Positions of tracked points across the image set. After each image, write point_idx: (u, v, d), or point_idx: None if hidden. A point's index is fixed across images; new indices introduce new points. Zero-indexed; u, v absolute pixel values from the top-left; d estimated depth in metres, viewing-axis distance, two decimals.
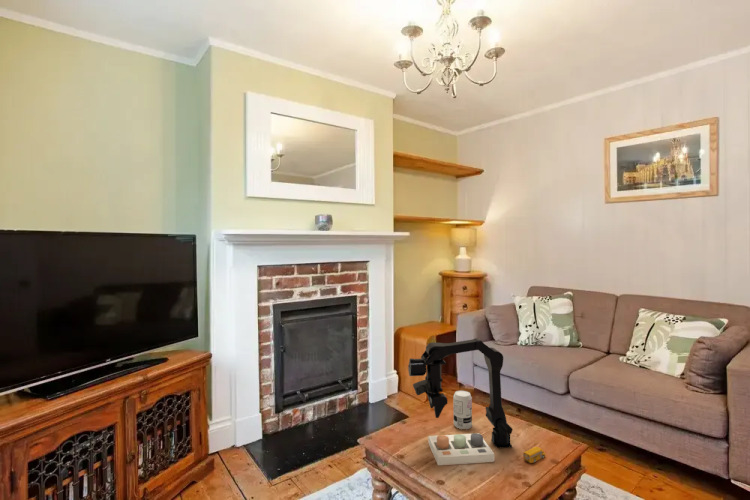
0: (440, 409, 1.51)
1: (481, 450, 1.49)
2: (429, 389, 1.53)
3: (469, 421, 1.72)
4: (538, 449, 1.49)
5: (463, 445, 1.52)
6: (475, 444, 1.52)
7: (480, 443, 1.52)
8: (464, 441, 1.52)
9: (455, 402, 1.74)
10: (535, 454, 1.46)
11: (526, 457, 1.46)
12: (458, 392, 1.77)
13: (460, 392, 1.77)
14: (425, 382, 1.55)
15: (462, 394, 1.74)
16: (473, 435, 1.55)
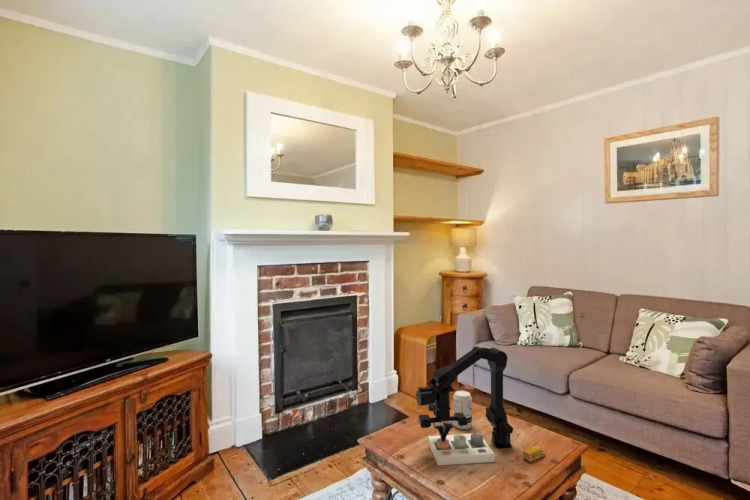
0: (439, 433, 1.52)
1: (481, 450, 1.49)
2: (433, 411, 1.55)
3: (469, 421, 1.72)
4: (538, 448, 1.50)
5: (463, 445, 1.52)
6: (475, 444, 1.52)
7: (480, 443, 1.52)
8: (464, 441, 1.52)
9: (455, 402, 1.74)
10: (534, 453, 1.47)
11: (525, 456, 1.47)
12: (458, 392, 1.77)
13: (460, 392, 1.77)
14: None
15: (462, 394, 1.74)
16: (473, 435, 1.55)
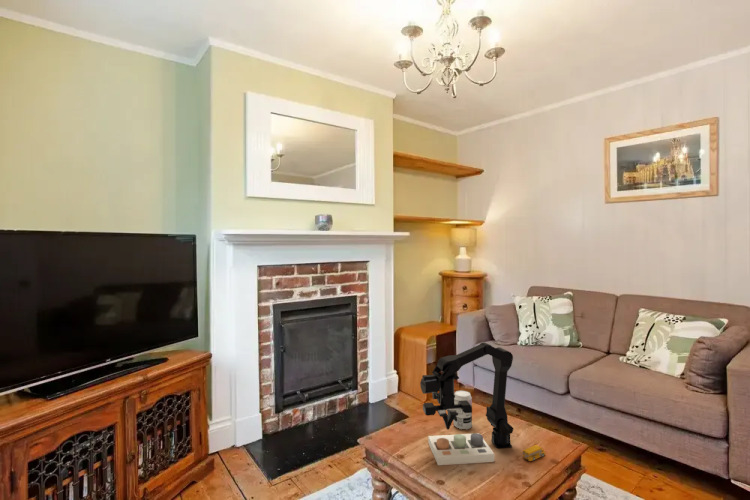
0: (444, 420, 1.52)
1: (481, 450, 1.49)
2: (438, 399, 1.55)
3: (469, 421, 1.72)
4: (538, 447, 1.50)
5: (463, 445, 1.52)
6: (475, 444, 1.52)
7: (480, 443, 1.52)
8: (464, 441, 1.52)
9: (455, 402, 1.74)
10: (534, 453, 1.48)
11: (525, 455, 1.47)
12: (458, 392, 1.77)
13: (460, 392, 1.77)
14: None
15: (462, 394, 1.74)
16: (473, 435, 1.55)
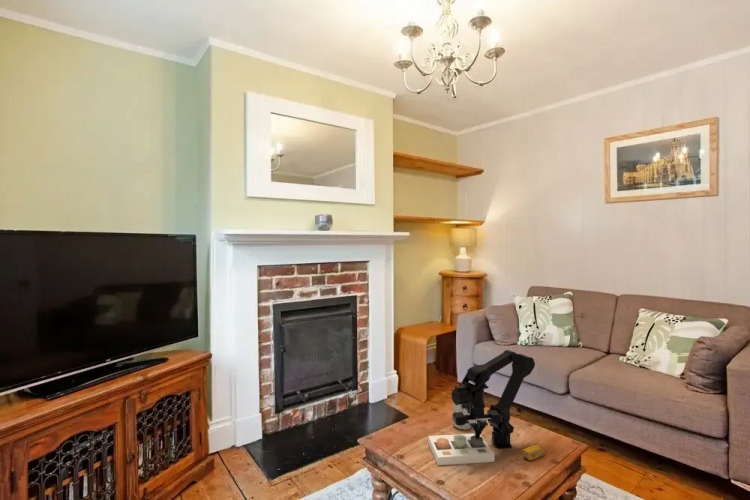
0: (474, 430, 1.53)
1: (481, 450, 1.49)
2: (467, 409, 1.57)
3: None
4: (537, 447, 1.50)
5: (463, 445, 1.52)
6: (475, 446, 1.52)
7: (480, 445, 1.52)
8: (464, 441, 1.52)
9: None
10: (534, 452, 1.48)
11: (525, 455, 1.48)
12: None
13: None
14: None
15: None
16: (473, 438, 1.55)
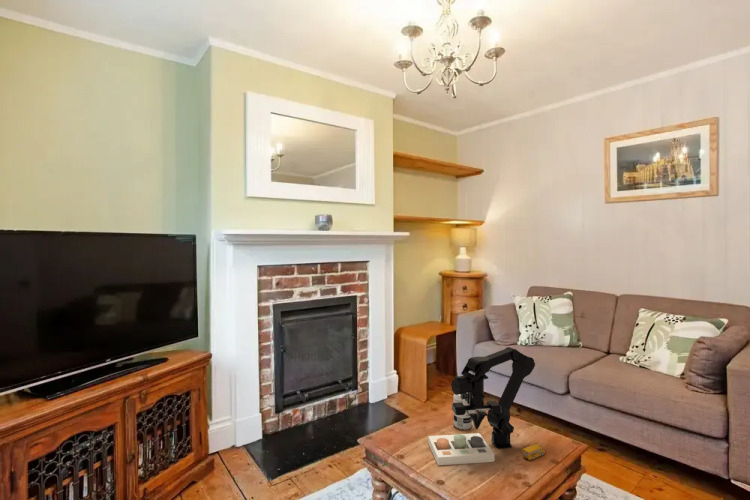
0: (473, 420, 1.53)
1: (481, 450, 1.49)
2: (467, 399, 1.56)
3: (469, 421, 1.72)
4: (537, 446, 1.51)
5: (463, 445, 1.52)
6: (475, 447, 1.52)
7: (480, 446, 1.52)
8: (464, 441, 1.52)
9: (455, 402, 1.74)
10: (534, 452, 1.48)
11: (525, 454, 1.48)
12: None
13: None
14: None
15: None
16: (473, 438, 1.55)
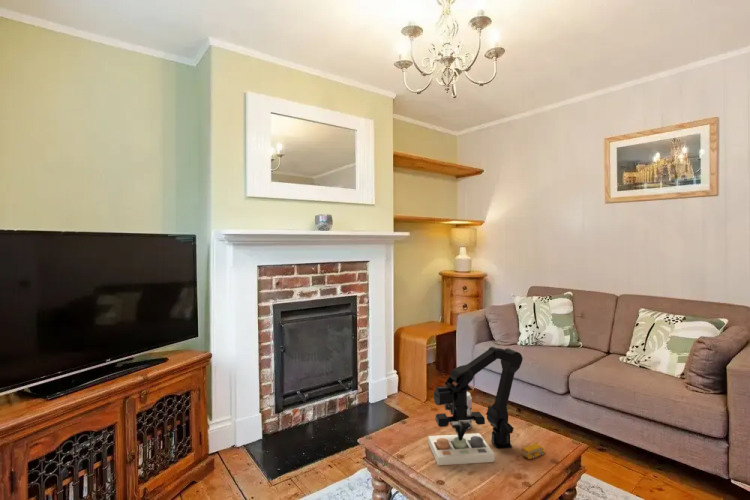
0: (457, 432, 1.53)
1: (481, 450, 1.49)
2: (450, 410, 1.56)
3: None
4: (537, 446, 1.51)
5: (463, 448, 1.52)
6: (475, 447, 1.52)
7: (480, 446, 1.52)
8: (464, 444, 1.52)
9: None
10: (533, 451, 1.49)
11: (524, 453, 1.49)
12: None
13: None
14: None
15: None
16: (473, 438, 1.55)
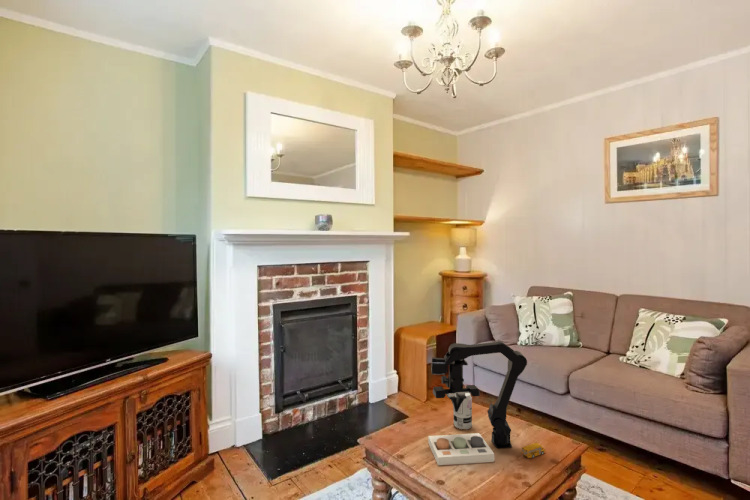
0: (453, 403, 1.60)
1: (481, 450, 1.49)
2: (447, 384, 1.63)
3: (469, 421, 1.72)
4: (537, 445, 1.52)
5: (463, 448, 1.52)
6: (475, 447, 1.52)
7: (480, 446, 1.52)
8: (464, 444, 1.52)
9: None
10: (533, 450, 1.49)
11: (524, 452, 1.49)
12: None
13: None
14: None
15: None
16: (473, 438, 1.55)
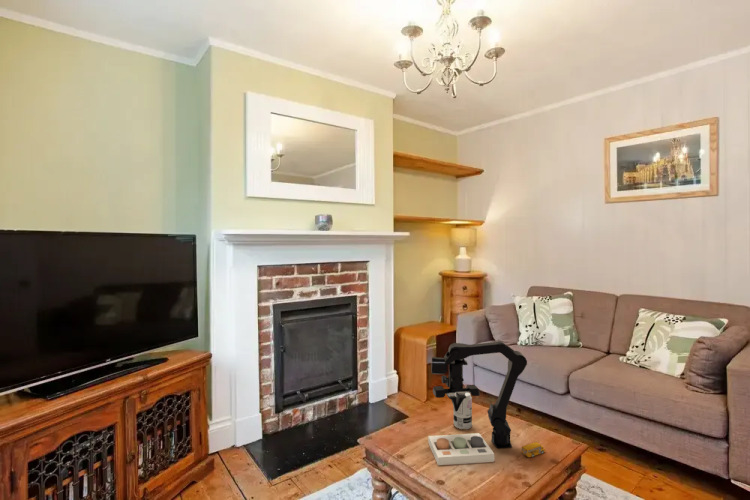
0: (453, 403, 1.60)
1: (481, 450, 1.49)
2: (447, 383, 1.64)
3: (469, 421, 1.72)
4: (537, 444, 1.52)
5: (463, 448, 1.52)
6: (475, 447, 1.52)
7: (480, 446, 1.52)
8: (464, 444, 1.52)
9: None
10: (533, 449, 1.50)
11: (524, 452, 1.50)
12: None
13: None
14: None
15: None
16: (473, 438, 1.55)
